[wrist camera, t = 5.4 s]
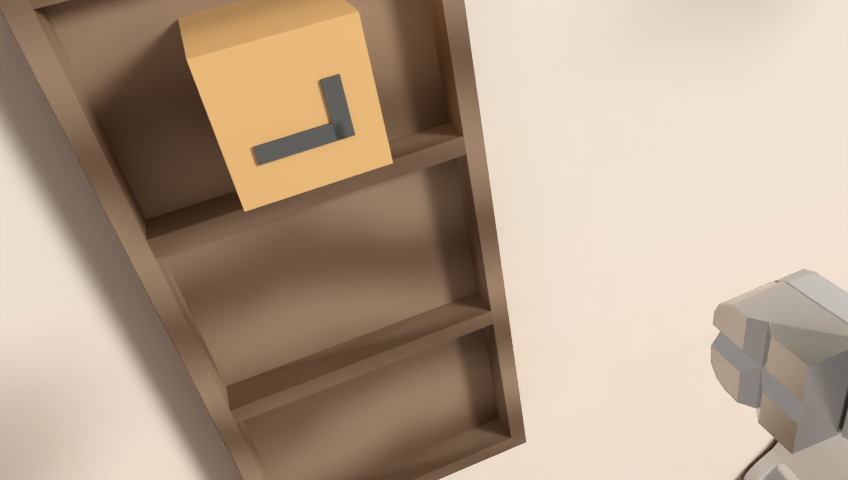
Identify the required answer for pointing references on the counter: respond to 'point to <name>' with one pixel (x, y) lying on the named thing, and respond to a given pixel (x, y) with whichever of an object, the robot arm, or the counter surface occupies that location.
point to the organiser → (303, 245)
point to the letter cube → (287, 94)
